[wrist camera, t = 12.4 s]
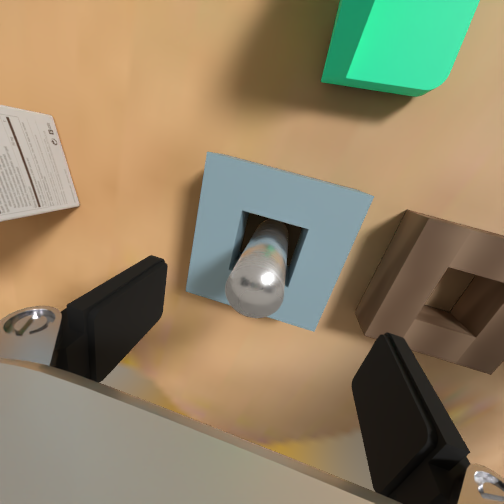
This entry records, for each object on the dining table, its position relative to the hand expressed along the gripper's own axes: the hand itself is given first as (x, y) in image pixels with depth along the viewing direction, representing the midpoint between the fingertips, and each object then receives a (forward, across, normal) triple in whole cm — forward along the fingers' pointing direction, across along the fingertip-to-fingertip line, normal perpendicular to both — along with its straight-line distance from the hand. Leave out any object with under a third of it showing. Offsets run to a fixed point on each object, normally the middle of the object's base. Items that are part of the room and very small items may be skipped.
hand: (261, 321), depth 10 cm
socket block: (+13, +1, 0) cm, 13 cm away
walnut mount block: (+14, -15, 0) cm, 20 cm away
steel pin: (+14, +1, 0) cm, 14 cm away
